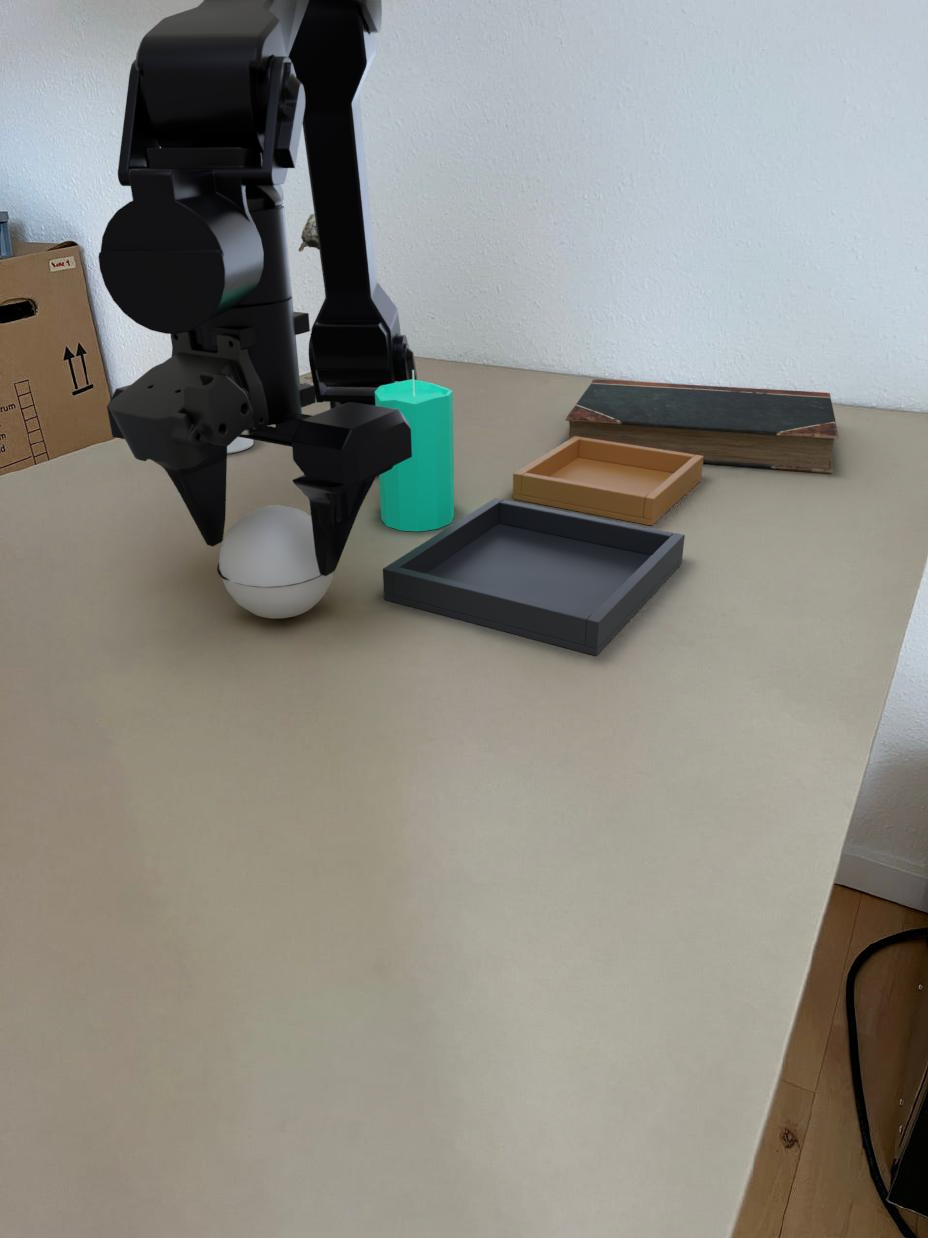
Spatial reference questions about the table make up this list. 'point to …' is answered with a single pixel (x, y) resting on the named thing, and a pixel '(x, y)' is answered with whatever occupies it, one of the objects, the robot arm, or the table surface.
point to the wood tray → (609, 479)
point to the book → (712, 422)
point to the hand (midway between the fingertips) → (269, 558)
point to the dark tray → (537, 573)
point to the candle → (420, 458)
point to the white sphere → (272, 563)
